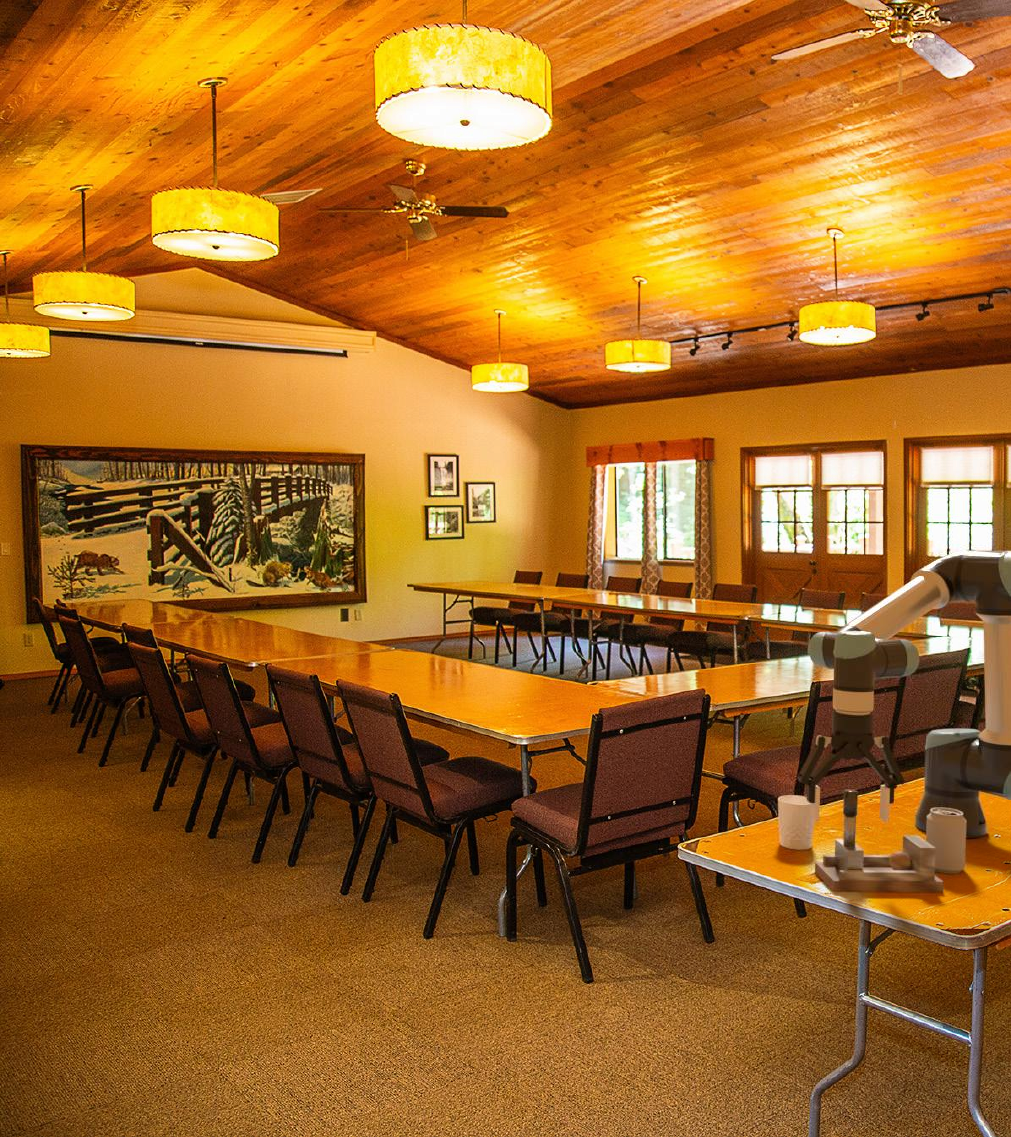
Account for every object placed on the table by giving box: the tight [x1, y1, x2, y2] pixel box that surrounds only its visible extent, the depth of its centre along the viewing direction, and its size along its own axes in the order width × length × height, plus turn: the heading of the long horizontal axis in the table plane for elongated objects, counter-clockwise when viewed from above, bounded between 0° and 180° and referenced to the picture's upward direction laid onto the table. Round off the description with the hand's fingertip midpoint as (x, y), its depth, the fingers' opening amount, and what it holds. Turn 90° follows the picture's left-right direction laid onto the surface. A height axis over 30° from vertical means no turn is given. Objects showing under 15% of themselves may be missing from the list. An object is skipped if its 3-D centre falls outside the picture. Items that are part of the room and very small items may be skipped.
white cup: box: [777, 794, 815, 851], centre depth 225 cm, size 8×8×10 cm
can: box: [925, 807, 967, 875], centre depth 210 cm, size 8×8×12 cm
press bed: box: [814, 834, 944, 893], centre depth 202 cm, size 21×11×8 cm, turn 91°
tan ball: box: [889, 850, 911, 871], centre depth 202 cm, size 4×4×4 cm
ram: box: [834, 789, 865, 870], centre depth 202 cm, size 3×7×16 cm, turn 1°
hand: (849, 819), depth 201 cm, fingers open, 13 cm apart
